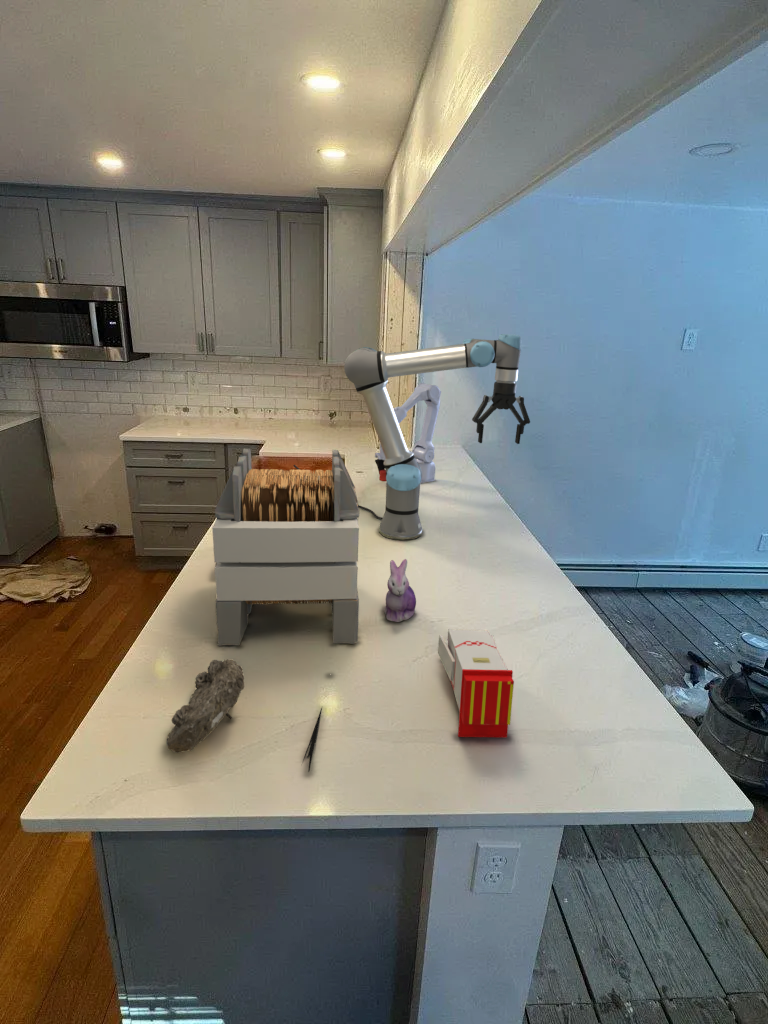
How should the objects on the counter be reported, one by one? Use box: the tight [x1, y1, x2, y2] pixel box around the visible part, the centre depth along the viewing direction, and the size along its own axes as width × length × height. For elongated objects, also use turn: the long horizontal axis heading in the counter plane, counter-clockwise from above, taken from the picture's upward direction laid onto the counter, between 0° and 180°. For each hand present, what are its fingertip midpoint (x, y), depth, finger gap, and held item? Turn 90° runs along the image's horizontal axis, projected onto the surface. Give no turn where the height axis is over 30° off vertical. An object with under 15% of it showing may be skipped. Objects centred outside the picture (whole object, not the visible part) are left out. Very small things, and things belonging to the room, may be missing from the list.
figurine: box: [384, 558, 417, 623], centre depth 145 cm, size 9×10×15 cm
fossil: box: [166, 658, 245, 754], centre depth 106 cm, size 22×10×15 cm
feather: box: [301, 673, 332, 771], centre depth 108 cm, size 2×28×2 cm
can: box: [378, 469, 387, 482], centre depth 251 cm, size 5×5×4 cm
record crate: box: [212, 448, 360, 647], centre depth 140 cm, size 34×33×41 cm
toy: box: [437, 628, 515, 738], centre depth 117 cm, size 12×13×30 cm
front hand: (498, 442), depth 201 cm, fingers open, 13 cm apart
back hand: (385, 476), depth 251 cm, fingers closed on can, 5 cm apart
